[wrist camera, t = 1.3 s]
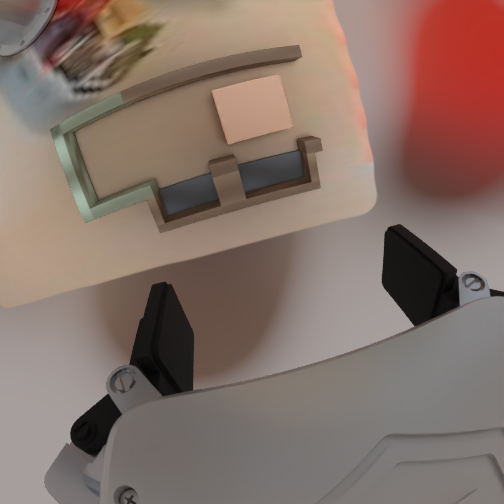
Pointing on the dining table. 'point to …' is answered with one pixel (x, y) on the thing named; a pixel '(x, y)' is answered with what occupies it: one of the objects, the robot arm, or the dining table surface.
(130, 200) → the box
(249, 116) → the block
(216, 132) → the dining table surface
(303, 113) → the dining table surface
